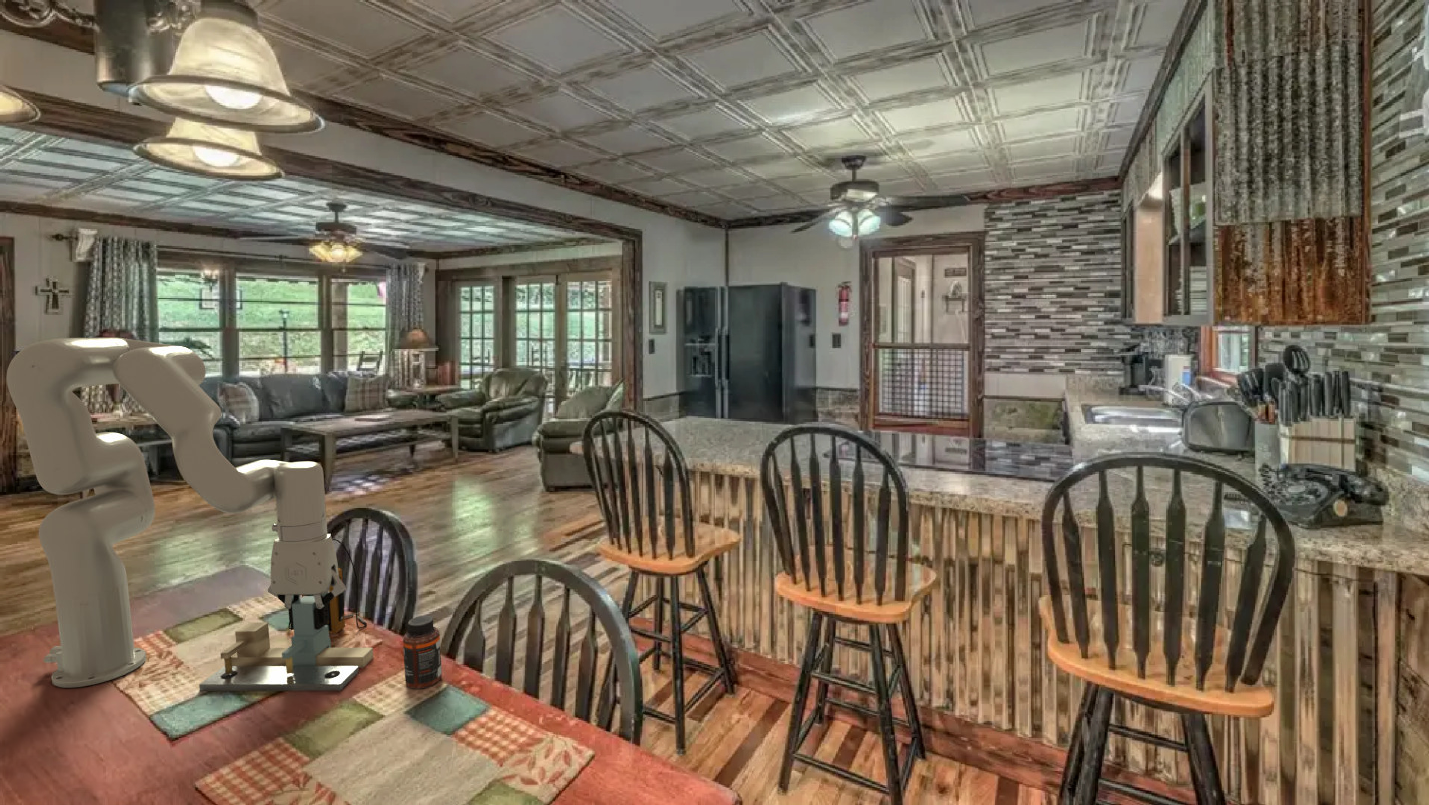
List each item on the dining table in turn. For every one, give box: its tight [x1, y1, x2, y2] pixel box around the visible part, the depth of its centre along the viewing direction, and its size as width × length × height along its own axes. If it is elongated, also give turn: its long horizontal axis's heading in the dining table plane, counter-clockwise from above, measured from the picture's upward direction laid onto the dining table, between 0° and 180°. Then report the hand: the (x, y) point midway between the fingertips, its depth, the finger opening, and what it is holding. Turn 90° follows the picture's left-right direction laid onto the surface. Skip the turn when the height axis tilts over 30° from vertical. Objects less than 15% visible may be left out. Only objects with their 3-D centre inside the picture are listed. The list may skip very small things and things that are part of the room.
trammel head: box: [282, 596, 332, 674], centre depth 120 cm, size 4×10×12 cm, turn 1°
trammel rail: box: [220, 622, 374, 674], centre depth 120 cm, size 24×9×7 cm, turn 91°
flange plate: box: [198, 665, 360, 692], centre depth 117 cm, size 24×6×1 cm, turn 91°
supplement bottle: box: [402, 615, 443, 689], centre depth 116 cm, size 6×6×11 cm
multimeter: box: [287, 538, 368, 635], centre depth 138 cm, size 15×10×20 cm
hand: (309, 625), depth 122 cm, fingers closed on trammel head, 3 cm apart
